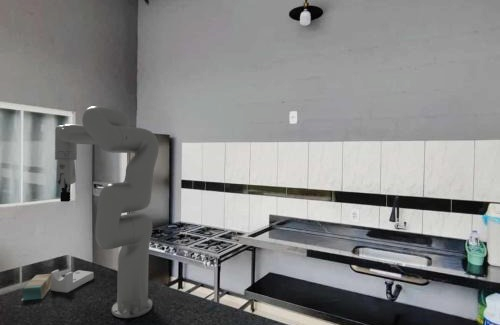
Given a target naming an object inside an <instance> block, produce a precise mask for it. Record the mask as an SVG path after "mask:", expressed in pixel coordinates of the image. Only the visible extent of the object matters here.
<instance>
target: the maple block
mask: <svg viewBox="0 0 500 325" xmlns="http://www.w3.org/2000/svg"><path fill="white" fill-rule="evenodd" d="M50 285H51V273H45V274H36V275H35V276H34V277H32V279H30V281H29V282H28V283H27V284H26V285H25V286H24V287H23V290H22V293H23V294H22V299H23V300H22V301H29V300H31V299H32V300H40V298H41V297H42V296H43V294H44V293H45V292H46V290H47V289H48V288H49V286H50ZM41 299H42V298H41Z"/></svg>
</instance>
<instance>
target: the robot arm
mask: <svg viewBox="0 0 500 325" xmlns="http://www.w3.org/2000/svg"><path fill="white" fill-rule="evenodd" d="M81 117H82V118H81V121H82V124H74V123H73V124H72V123H66V124H63V125H61V124H60V125H57V126H56V127H55V130H54V132H55V133H54V134H55V137H54V139H55V140H54V160H56V161H57V162H56V163H57V164H56V184H57V185H59V189H60V195H59V196H60V202H61V203H62V202H64V203H65V202H66V203H68V202H70V201H71V186H72V184H75V183H76V182H77V176H76V171H77V170H76V161H77V160H78V159H77V158H78V157H77V154H78V153H77V152H78V151H77V150H78V147H77V146H78V145H97V146H98V147H99V148H100V149H101V150H102V151H104V152H106V153H112V154H113V153H119V154H130V153H131V154H134V155H133V156H132V157H131V159H130V160H129V161H128V163H127V165H126V167H125V176H124V180H123V181H122V182H111V183H108V184H106V185H104V187H103V188H102V189H101V190H100V193H99V194H98V195H99V196H98V200H97V208H96V209H97V210H96V221H95V230H94V231H95V232H94V234H95V241H96V243H97V245H98V247H99V248H101V249H103V250H107V251H108V250H113V249H118V248H120V250H119V252H118V255H117V282H116V284H117V285H116V288H117V290H116V292H117V293H116V302H115V303H114V304H113V305H112V307H111V313H112V315H113V316H114V317H117V318H119V319H120V318H121V319H133V318H137V317H140V316H143V315H145V314H147V313H148V312H150V311H151V310H152V308H153V300H152V299H150V298H149V260H150V259H149V258H150V257H149V256H150V255H149V254H150V243H151V237H152V235H153V221H152V219H151V217H150V216H149V215H147V214H145V213H141V212H138V211H142V210H145V209H147V207H149V206H150V204H151V198H152V191H153V190H152V189H153V181H154V172H155V166H156V163H157V160H158V155H159V150H160V149H159V148H160V146H159V142H158V138H157V136H156V135H155V134H154V133H153V132H152V131H151V130H148V129H145V128H142V127H136V126H135V127H134V126H130V125H131V124H130V122H131V121H130V117H129V115H128V114H126V113H125V112H124V111H122V110H119V109H116V108H111V107H110V108H109V107H105V106H103V107H102V106H90V107H88V108H87V109H85V111H84V112H83V114H82V116H81ZM131 212H133V213H131ZM125 213H127V214H125Z"/></svg>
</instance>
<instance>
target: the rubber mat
mask: <svg viewBox="0 0 500 325" xmlns="http://www.w3.org/2000/svg"><path fill="white" fill-rule="evenodd" d="M50 290H51V285H50V286H49V288H48V289H47V290H46V292H45V293H44V294H43V296H42V297H41V298H40V299H41V300H42V299H44V298H45V296H46V295H47V293H48V292H49V291H50ZM40 299H39V300H40ZM31 300H33V299H31ZM20 301H24V300H23V298H21V300H20Z"/></svg>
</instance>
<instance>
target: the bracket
mask: <svg viewBox="0 0 500 325" xmlns="http://www.w3.org/2000/svg"><path fill="white" fill-rule="evenodd" d="M50 274H51V288H50V291H54V292H60V293H67V294H68V293H69V292H71V291H73V290H75V289H76V288H79V287H80V286H83V284H84V285H85V284H86V283H87V282H90V281H92V280H93V279H94V271H88V270H87V271H86V270H81V269H78V270H76V271H74V272H73V271H68V272H67V273H65V274H64V276H62V274H61V273H60V269H55V270H53V271H51V272H50Z"/></svg>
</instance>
